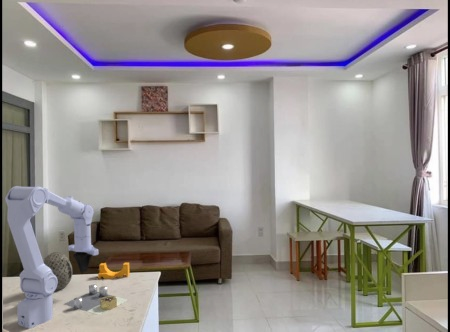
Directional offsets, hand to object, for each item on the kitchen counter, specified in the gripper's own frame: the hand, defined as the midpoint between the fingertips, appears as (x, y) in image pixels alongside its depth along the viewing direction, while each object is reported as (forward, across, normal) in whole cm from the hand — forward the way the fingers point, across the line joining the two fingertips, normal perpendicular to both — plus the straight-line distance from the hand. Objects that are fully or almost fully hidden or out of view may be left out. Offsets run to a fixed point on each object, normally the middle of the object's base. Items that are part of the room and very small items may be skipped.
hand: (83, 271), depth 129 cm
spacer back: (+8, -3, -2) cm, 9 cm away
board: (+9, -10, +3) cm, 14 cm away
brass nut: (+8, -17, +4) cm, 19 cm away
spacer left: (+8, -8, +9) cm, 15 cm away
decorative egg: (+10, +15, +1) cm, 18 cm away
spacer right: (+8, -8, -2) cm, 12 cm away
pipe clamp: (+10, +4, -18) cm, 21 cm away
